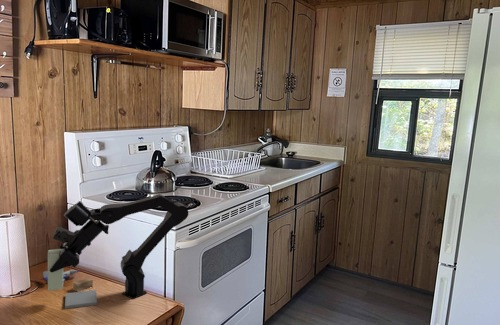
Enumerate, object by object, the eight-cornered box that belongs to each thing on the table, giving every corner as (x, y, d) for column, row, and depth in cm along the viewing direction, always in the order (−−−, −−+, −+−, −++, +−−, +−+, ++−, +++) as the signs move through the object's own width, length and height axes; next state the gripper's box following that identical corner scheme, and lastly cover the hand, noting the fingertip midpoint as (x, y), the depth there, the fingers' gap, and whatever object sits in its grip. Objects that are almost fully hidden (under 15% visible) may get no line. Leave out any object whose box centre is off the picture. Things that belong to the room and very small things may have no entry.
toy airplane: (87, 275, 158) (87, 267, 158) (66, 290, 145) (66, 280, 144) (58, 272, 160) (58, 263, 160) (34, 286, 147) (34, 276, 146)
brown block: (88, 285, 150) (88, 277, 150) (92, 287, 148) (92, 280, 148) (73, 290, 145) (73, 282, 145) (77, 292, 143) (77, 284, 143)
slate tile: (96, 292, 144) (96, 289, 144) (97, 304, 135) (97, 301, 134) (65, 296, 140) (65, 293, 140) (65, 308, 131) (65, 306, 130)
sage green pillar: (63, 283, 136) (63, 248, 135) (62, 289, 132) (62, 253, 131) (48, 285, 134) (48, 250, 133) (47, 290, 130) (47, 254, 129)
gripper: (69, 213, 141) (34, 245, 138) (67, 226, 124) (28, 264, 121) (92, 232, 145) (59, 264, 142) (94, 248, 128) (56, 285, 125)
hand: (51, 268), depth 132 cm, fingers closed on sage green pillar, 4 cm apart
